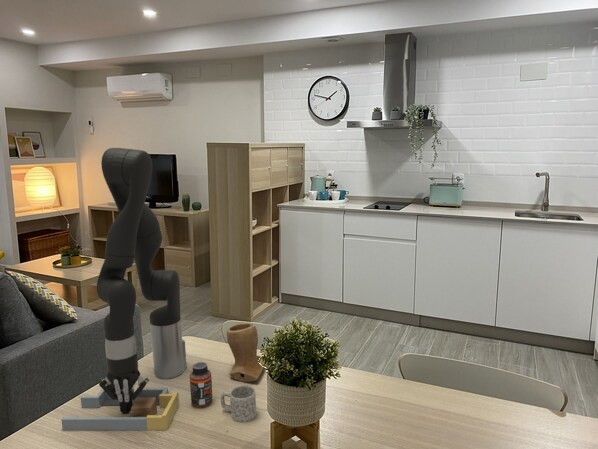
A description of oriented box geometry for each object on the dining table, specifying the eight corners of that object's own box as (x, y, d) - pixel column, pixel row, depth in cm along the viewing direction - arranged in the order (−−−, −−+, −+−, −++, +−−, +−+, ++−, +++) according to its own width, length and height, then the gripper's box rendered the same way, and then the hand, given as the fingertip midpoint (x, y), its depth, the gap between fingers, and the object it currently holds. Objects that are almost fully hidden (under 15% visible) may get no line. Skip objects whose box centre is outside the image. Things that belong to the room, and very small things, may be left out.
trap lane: (62, 430, 119) (61, 419, 118) (90, 397, 134) (89, 388, 133) (151, 429, 118) (150, 419, 118) (169, 397, 133) (168, 387, 132)
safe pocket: (147, 429, 118) (146, 415, 118) (161, 405, 129) (160, 392, 128) (166, 429, 118) (165, 415, 117) (178, 405, 129) (178, 392, 128)
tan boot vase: (235, 358, 155) (233, 316, 153) (269, 361, 153) (268, 318, 150) (219, 382, 141) (216, 336, 138) (257, 385, 139) (255, 338, 136)
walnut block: (132, 424, 121) (131, 408, 120) (138, 412, 126) (137, 397, 125) (151, 423, 121) (150, 407, 120) (157, 412, 126) (155, 397, 125)
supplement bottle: (207, 409, 127) (205, 371, 125) (187, 407, 128) (184, 369, 126) (216, 397, 132) (213, 361, 130) (196, 395, 134) (194, 359, 131)
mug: (260, 410, 126) (259, 387, 125) (249, 424, 120) (248, 401, 119) (227, 403, 129) (226, 382, 128) (215, 417, 123) (214, 394, 122)
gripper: (89, 358, 117) (95, 420, 120) (141, 358, 116) (146, 421, 119) (103, 345, 124) (108, 404, 127) (151, 345, 124) (156, 405, 127)
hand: (126, 412), depth 123 cm, fingers closed
